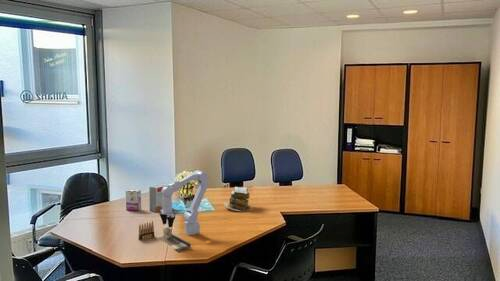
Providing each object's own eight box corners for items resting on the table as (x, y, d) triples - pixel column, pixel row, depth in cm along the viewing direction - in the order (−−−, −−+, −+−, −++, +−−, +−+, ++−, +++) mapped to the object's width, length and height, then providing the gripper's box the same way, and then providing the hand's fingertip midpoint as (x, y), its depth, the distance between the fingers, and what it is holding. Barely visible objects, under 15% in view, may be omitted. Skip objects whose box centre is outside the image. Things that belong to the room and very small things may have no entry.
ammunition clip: (153, 238, 273) (152, 220, 271) (154, 238, 271) (154, 221, 270) (138, 241, 266) (137, 223, 264) (139, 242, 264) (139, 224, 263)
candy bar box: (141, 209, 337) (141, 189, 335) (138, 211, 332) (138, 191, 330) (129, 208, 339) (128, 189, 337) (126, 210, 334) (125, 190, 332)
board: (169, 236, 275) (169, 232, 274) (190, 248, 255) (190, 243, 255) (157, 240, 269) (157, 235, 269) (177, 252, 249) (177, 247, 249)
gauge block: (169, 236, 272) (168, 227, 271) (172, 237, 269) (171, 228, 268) (163, 237, 270) (163, 228, 269) (166, 239, 267) (166, 230, 266)
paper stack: (256, 205, 351) (256, 186, 349) (248, 213, 328) (248, 193, 326) (229, 203, 358) (229, 184, 356) (219, 211, 334) (219, 190, 332)
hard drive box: (155, 212, 329) (155, 188, 326) (149, 210, 334) (148, 186, 331) (170, 208, 341) (169, 184, 339) (164, 206, 346) (163, 183, 343)
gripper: (156, 203, 270) (156, 224, 271) (167, 208, 259) (167, 229, 260) (165, 202, 274) (166, 221, 276) (177, 206, 263) (177, 227, 265)
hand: (167, 225), depth 268 cm, fingers open, 7 cm apart
